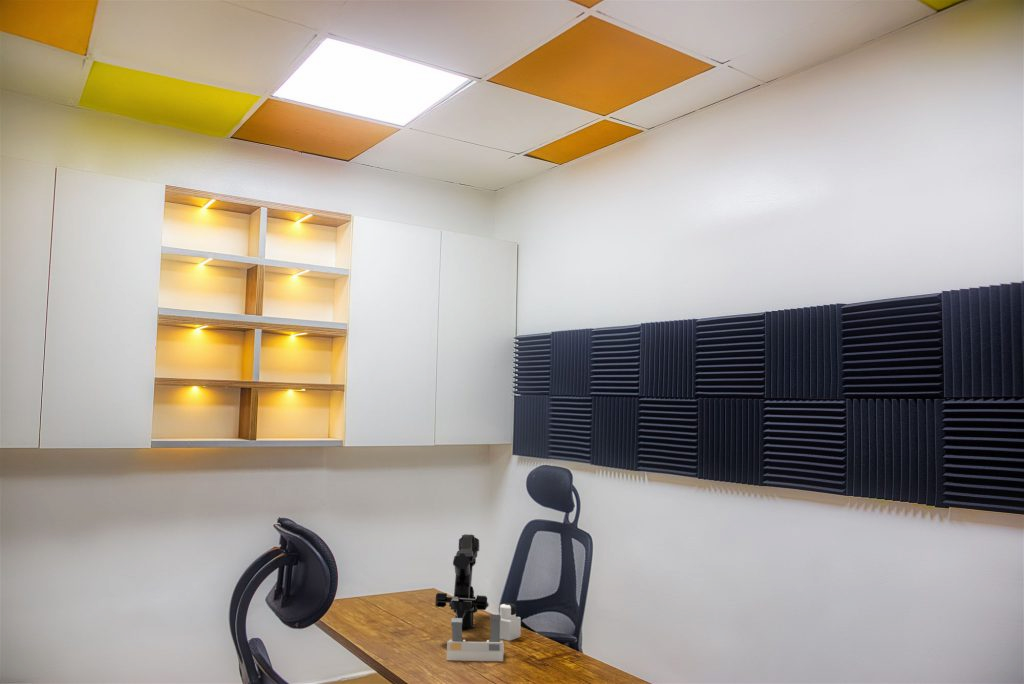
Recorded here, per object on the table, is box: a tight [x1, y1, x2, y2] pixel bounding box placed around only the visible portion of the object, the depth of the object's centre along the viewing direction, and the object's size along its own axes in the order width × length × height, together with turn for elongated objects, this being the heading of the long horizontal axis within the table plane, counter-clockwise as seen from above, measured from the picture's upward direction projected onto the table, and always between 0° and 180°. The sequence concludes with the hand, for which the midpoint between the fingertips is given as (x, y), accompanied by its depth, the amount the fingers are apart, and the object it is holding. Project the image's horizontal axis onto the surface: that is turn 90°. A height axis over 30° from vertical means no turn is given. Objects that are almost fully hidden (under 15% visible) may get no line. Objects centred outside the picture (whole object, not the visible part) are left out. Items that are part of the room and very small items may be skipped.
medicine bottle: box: [499, 602, 522, 642], centre depth 280 cm, size 7×7×12 cm
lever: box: [489, 614, 501, 642], centre depth 260 cm, size 2×4×10 cm, turn 89°
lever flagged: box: [450, 617, 463, 642], centre depth 257 cm, size 2×4×10 cm, turn 89°
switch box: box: [446, 639, 505, 662], centre depth 257 cm, size 9×19×6 cm, turn 89°
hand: (459, 623), depth 268 cm, fingers closed
